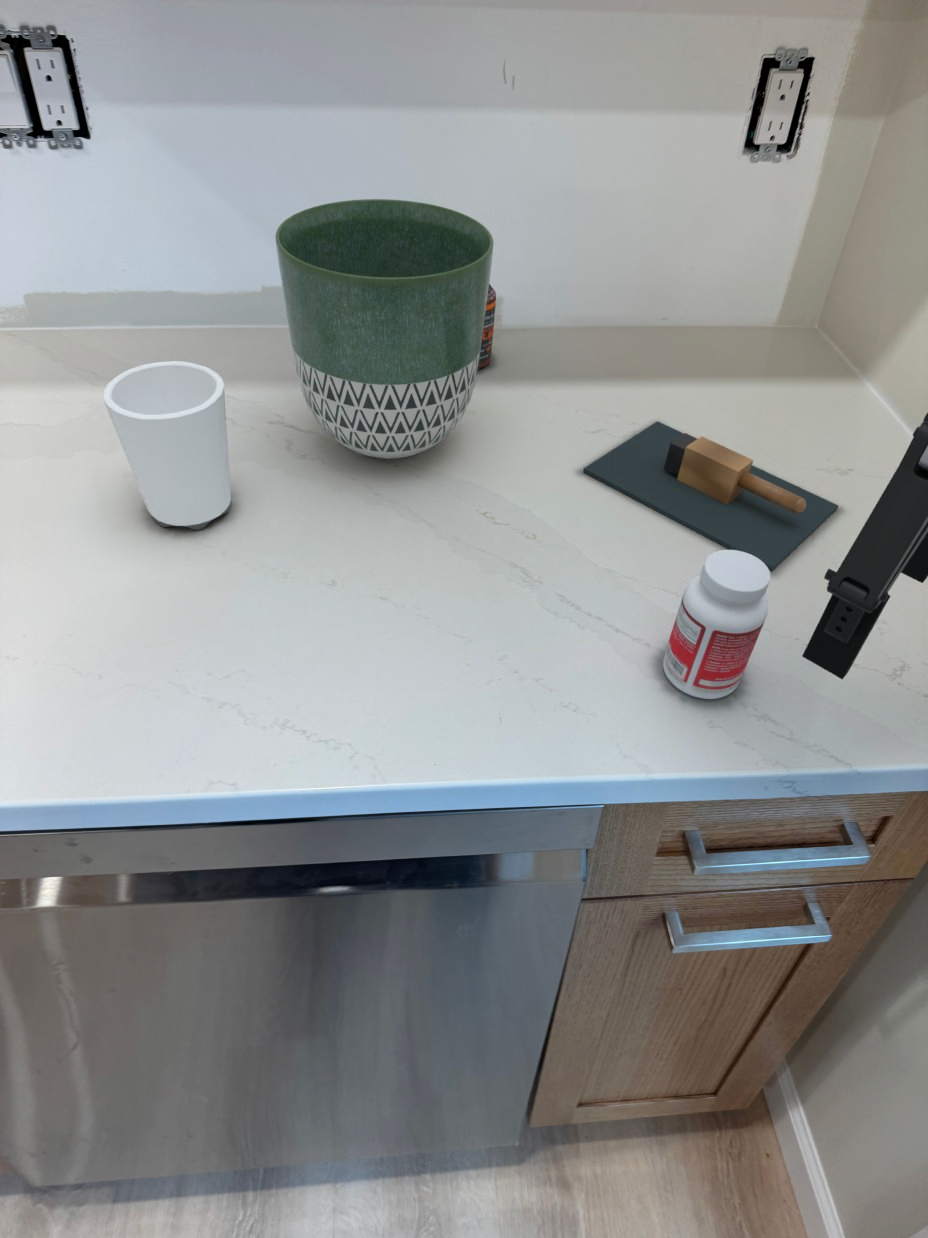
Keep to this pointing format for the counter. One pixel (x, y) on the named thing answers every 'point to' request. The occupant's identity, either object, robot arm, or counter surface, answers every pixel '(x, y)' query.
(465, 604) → the counter surface
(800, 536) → the mat
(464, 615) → the counter surface
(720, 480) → the scrub brush
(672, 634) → the pill bottle
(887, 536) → the robot arm
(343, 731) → the counter surface
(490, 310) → the supplement bottle
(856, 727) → the counter surface
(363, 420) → the planter
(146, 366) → the cup
